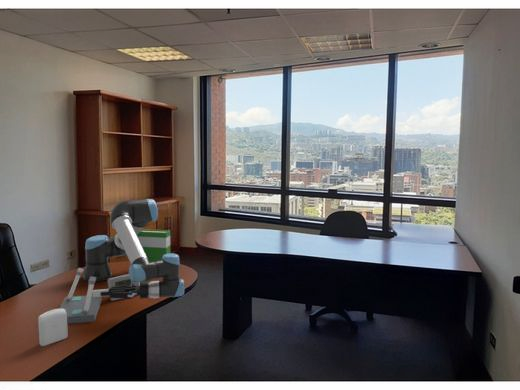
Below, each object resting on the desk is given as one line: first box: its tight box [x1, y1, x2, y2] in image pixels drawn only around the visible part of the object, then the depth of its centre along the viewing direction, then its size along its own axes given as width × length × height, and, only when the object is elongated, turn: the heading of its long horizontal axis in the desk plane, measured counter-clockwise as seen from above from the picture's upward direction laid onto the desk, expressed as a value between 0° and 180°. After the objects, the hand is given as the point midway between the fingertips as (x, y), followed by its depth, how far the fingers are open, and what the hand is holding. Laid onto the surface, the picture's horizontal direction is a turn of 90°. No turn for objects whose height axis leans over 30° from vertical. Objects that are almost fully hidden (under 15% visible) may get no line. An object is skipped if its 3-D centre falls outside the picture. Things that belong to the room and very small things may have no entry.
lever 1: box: [66, 267, 85, 302], centre depth 193 cm, size 2×5×15 cm, turn 15°
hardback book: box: [137, 228, 171, 262], centre depth 249 cm, size 18×7×24 cm, turn 84°
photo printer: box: [37, 308, 69, 347], centre depth 159 cm, size 10×4×12 cm, turn 140°
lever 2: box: [83, 276, 97, 314], centre depth 179 cm, size 2×5×15 cm, turn 15°
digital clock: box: [106, 273, 141, 302], centre depth 206 cm, size 16×9×11 cm, turn 122°
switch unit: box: [58, 294, 103, 324], centre depth 187 cm, size 16×24×3 cm, turn 14°
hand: (92, 293), depth 179 cm, fingers closed
